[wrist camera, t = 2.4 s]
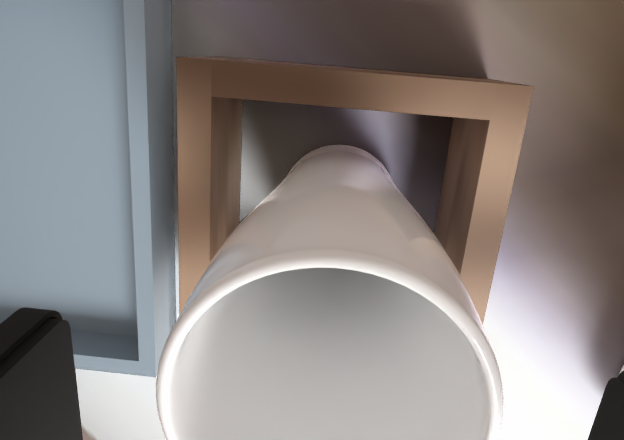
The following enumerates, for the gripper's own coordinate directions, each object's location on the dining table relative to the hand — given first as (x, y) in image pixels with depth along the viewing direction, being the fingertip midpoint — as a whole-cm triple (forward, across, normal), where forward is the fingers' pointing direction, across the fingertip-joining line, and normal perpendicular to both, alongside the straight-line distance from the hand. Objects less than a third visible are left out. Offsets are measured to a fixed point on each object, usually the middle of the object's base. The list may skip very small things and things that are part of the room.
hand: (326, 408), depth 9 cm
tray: (+15, +16, +1) cm, 22 cm away
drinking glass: (+16, 0, +1) cm, 16 cm away
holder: (+15, 0, +1) cm, 15 cm away
